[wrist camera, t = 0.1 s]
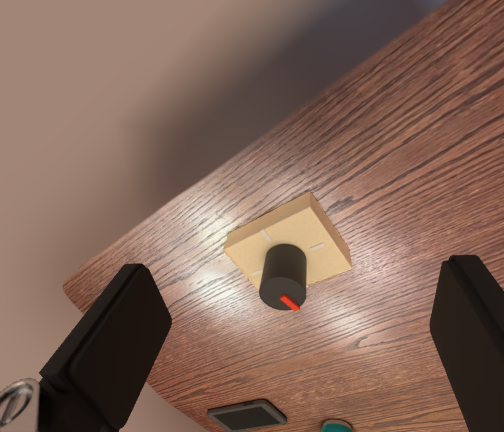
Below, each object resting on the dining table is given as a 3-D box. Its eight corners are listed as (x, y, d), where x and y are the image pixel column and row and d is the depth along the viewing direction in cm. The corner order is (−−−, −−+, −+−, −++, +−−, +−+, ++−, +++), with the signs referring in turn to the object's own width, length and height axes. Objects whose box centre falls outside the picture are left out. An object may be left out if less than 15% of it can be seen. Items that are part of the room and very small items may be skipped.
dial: (257, 257, 29) (248, 293, 25) (287, 236, 27) (283, 272, 23) (284, 280, 30) (280, 319, 26) (315, 262, 28) (316, 301, 24)
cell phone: (205, 410, 55) (204, 414, 55) (265, 398, 49) (264, 403, 49) (229, 428, 58) (228, 433, 57) (289, 419, 52) (288, 424, 51)
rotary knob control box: (309, 189, 27) (309, 206, 25) (350, 249, 30) (353, 270, 28) (228, 232, 32) (221, 250, 29) (270, 281, 35) (267, 302, 32)
